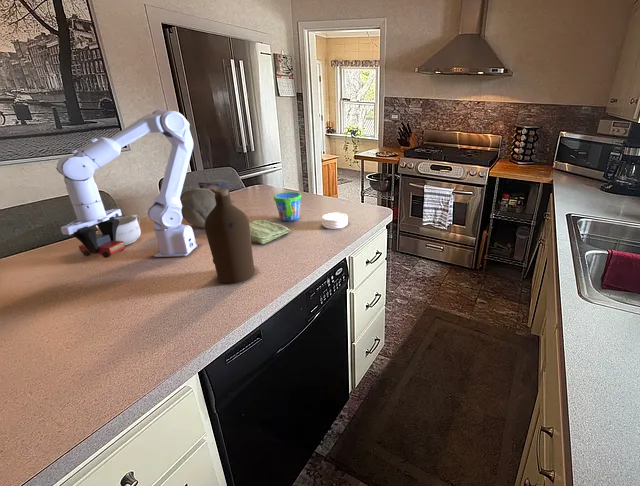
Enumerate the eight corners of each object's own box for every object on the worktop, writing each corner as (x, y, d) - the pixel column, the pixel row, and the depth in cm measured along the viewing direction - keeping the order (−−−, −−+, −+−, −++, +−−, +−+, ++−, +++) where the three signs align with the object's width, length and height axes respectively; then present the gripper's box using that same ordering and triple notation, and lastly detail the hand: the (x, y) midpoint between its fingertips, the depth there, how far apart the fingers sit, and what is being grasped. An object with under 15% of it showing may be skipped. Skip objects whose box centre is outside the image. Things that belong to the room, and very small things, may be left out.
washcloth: (262, 246, 110) (261, 237, 108) (230, 235, 118) (228, 227, 117) (292, 233, 120) (291, 225, 119) (261, 224, 128) (260, 216, 127)
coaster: (336, 231, 123) (335, 222, 122) (317, 225, 128) (316, 217, 126) (353, 223, 131) (352, 215, 130) (334, 218, 136) (334, 210, 134)
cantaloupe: (232, 221, 131) (226, 185, 126) (207, 234, 118) (199, 195, 113) (201, 218, 133) (194, 183, 128) (173, 231, 120) (163, 192, 115)
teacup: (120, 251, 105) (113, 228, 102) (93, 247, 107) (85, 225, 104) (158, 234, 118) (153, 213, 115) (134, 231, 120) (128, 211, 117)
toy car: (81, 256, 89) (75, 239, 87) (98, 248, 93) (92, 232, 92) (111, 258, 88) (105, 241, 86) (127, 250, 93) (122, 234, 91)
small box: (202, 204, 150) (197, 182, 147) (211, 200, 156) (207, 178, 153) (222, 205, 149) (218, 183, 145) (231, 201, 155) (228, 180, 151)
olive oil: (265, 270, 95) (252, 187, 86) (235, 288, 86) (218, 197, 77) (237, 263, 99) (222, 183, 90) (206, 280, 89) (186, 192, 80)
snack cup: (279, 213, 141) (276, 190, 137) (304, 211, 143) (302, 189, 139) (274, 226, 126) (270, 201, 123) (302, 224, 129) (299, 200, 125)
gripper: (71, 211, 78) (90, 261, 83) (125, 194, 92) (138, 238, 97) (45, 210, 79) (65, 259, 84) (102, 193, 92) (116, 237, 97)
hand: (103, 248), depth 90 cm, fingers closed on toy car, 4 cm apart
